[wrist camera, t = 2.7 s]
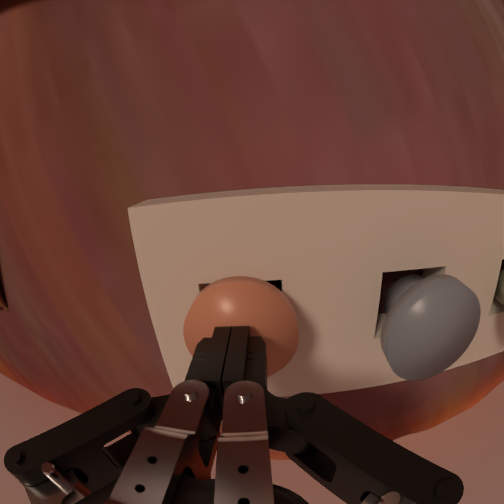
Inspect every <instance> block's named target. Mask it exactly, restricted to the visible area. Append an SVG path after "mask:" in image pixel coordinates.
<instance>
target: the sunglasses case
mask: <svg viewBox="0 0 504 504" xmlns="http://www.w3.org/2000/svg"><path fill="white" fill-rule="evenodd" d="M0 308H4V309H6V311H8V306H7V302H6V299H5V296H4V293H3V289H2V285H1V281H0Z"/></svg>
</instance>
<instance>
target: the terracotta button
mask: <svg viewBox="0 0 504 504" xmlns="http://www.w3.org/2000/svg"><path fill="white" fill-rule="evenodd" d="M219 326H249V328H250V337H255V336H261V337H262V338H263V340H264V341H265V343H266V354H267V377H268V376H271V375H273V374H275V373H277V372H278V371H280V370H281V369H283V368H284V367H285V366H286V365H287V364H288V363H289V362H290V361H291V359H292V358H293V356H294V355H295V352H296V350H297V347H298V342H299V332H298V325H297V319H296V314H295V310H294V308H293V306H292V304H291V302H290V301H289V299H288V298H287V297H286V295H285V294H284V293H283V292H281V291H280V290H279V289H278V288H276V287H275V286H274V285H272V284H270V283H268V282H266V281H263V280H261V279H257V278H253V277H246V276H234V277H227V278H223V279H220V280H217V281H215V282H213V283H211V284H209V285H208V286H206V287H205V288H204V289H203V290H202V291H201V292H200V293H199V294H198V295H197V296H196V298H195V300H194V301H193V303H192V305H191V307H190V310H189V312H188V314H187V316H186V318H185V321H184V327H183V335H184V341H185V344H186V347H187V349H188V351H189V352H190V354H191V355H192V357H193V354H194V351H195V349H196V346H197V344H198V343H199V342H200V341H201V340H202V339H203V338H212V335H213V332H214V328H215V327H219Z"/></svg>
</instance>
